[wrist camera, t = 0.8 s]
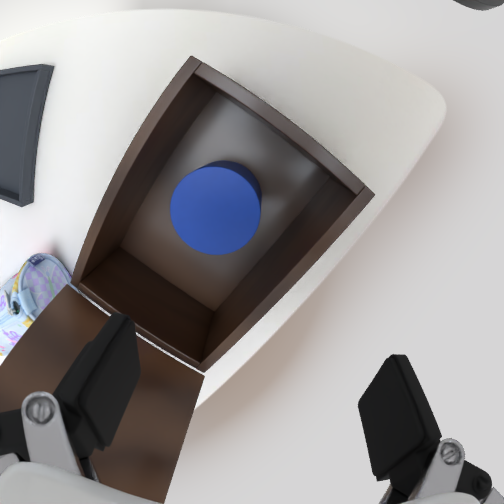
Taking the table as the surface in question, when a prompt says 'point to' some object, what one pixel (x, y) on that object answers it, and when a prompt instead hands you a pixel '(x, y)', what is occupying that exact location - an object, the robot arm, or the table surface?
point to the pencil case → (29, 296)
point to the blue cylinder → (217, 207)
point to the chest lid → (138, 409)
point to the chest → (185, 257)
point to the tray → (20, 129)
